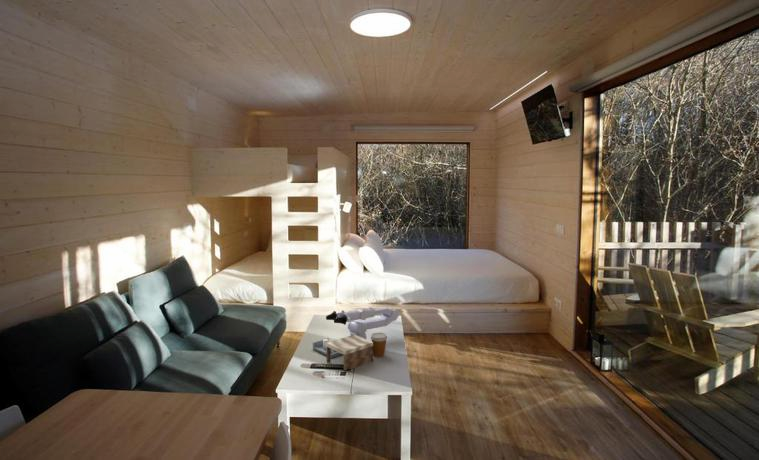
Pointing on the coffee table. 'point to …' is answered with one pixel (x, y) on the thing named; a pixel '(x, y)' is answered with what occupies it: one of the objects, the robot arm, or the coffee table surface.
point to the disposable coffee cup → (379, 344)
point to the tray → (320, 349)
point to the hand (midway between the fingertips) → (330, 319)
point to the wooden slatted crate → (352, 350)
